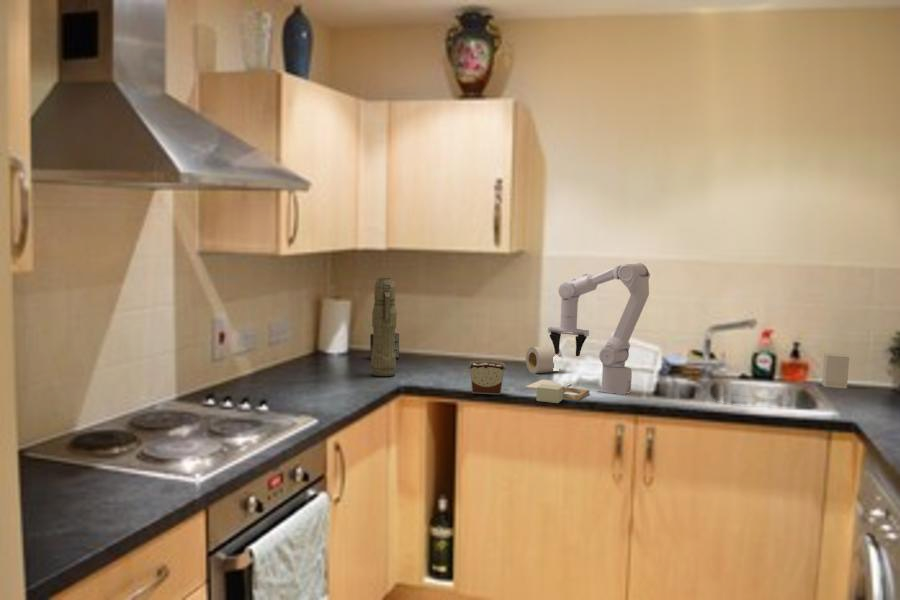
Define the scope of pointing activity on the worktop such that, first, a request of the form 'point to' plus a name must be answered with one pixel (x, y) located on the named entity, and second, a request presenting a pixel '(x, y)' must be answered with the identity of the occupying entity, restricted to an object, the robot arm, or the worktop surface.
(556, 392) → the green block
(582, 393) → the wooden square frame
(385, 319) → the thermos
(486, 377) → the food container
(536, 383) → the beige mat
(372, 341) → the small box
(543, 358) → the toilet paper
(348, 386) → the worktop surface
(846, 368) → the supplement box
